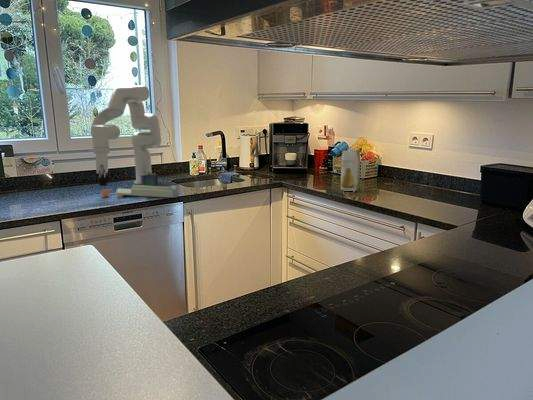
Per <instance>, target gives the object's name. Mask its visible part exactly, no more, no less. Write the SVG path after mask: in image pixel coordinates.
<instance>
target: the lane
mask: <svg viewBox="0 0 533 400" xmlns="http://www.w3.org/2000/svg"><path fill="white" fill-rule="evenodd" d="M115 194H116V196H117V198H118V199H119V198H124V196H139V197H154V198H155V197H156V198H157V197H159V198H178V193H177V188H176V185H175V184H174V185H173V184H171V185H170V186H162V185H161V186H159V185H158V186H144V185H141V184H131V188H119V187H118V188H117V190H116V193H115Z"/></svg>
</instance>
